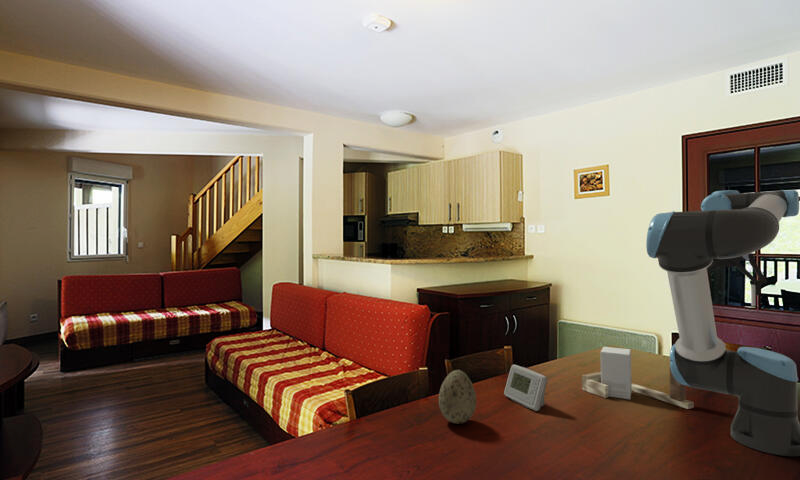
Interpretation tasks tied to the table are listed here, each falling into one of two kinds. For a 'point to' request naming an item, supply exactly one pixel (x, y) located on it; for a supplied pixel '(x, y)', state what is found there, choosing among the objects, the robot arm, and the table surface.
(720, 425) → the table surface
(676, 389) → the hooked slat
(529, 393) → the digital clock
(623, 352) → the supplement box
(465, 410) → the decorative egg
